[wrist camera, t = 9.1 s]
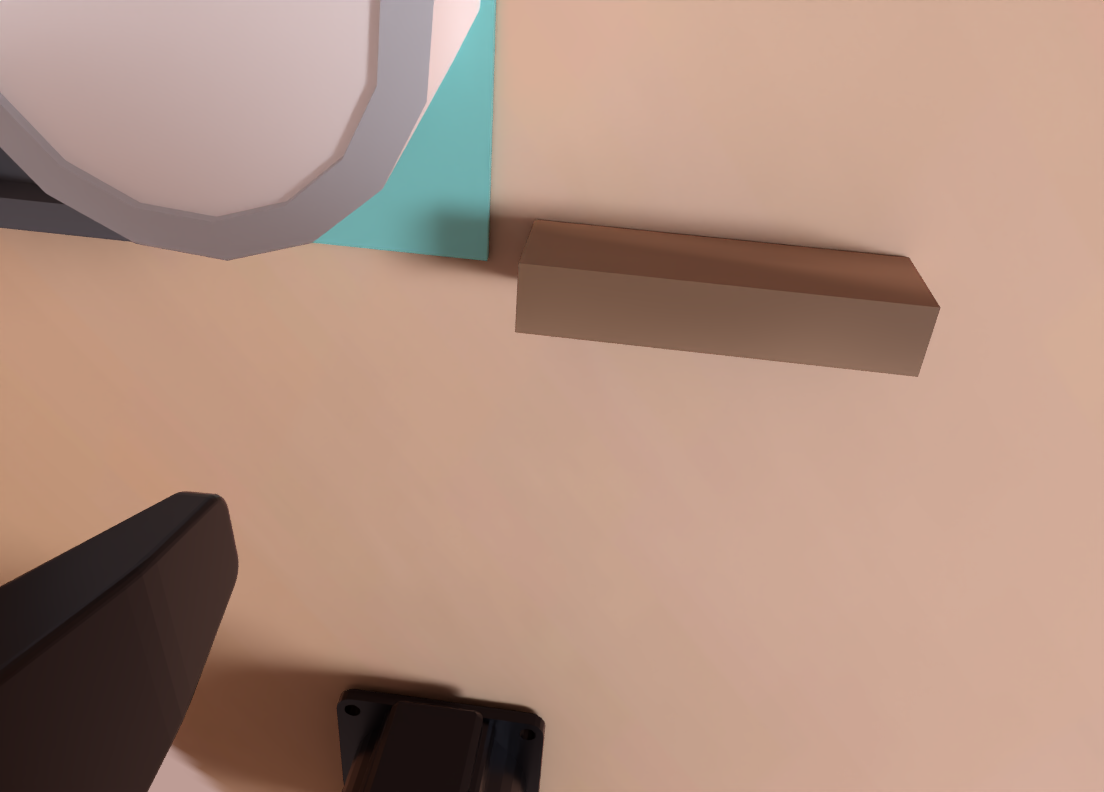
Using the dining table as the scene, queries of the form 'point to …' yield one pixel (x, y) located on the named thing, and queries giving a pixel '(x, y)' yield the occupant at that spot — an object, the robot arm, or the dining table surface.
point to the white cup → (219, 110)
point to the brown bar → (725, 297)
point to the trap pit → (41, 207)
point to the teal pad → (439, 166)
